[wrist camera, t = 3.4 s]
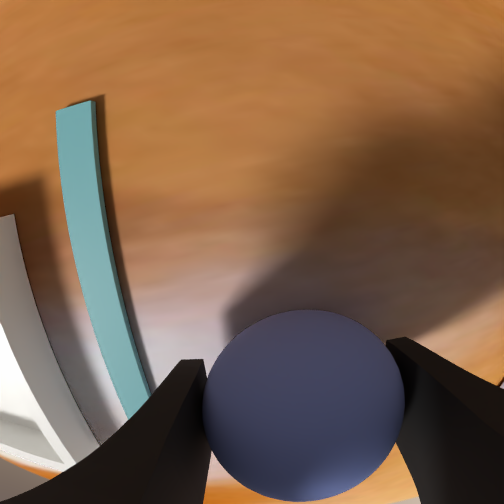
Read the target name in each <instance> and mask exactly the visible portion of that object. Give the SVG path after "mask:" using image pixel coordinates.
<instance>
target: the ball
mask: <svg viewBox="0 0 504 504" xmlns="http://www.w3.org/2000/svg"><path fill="white" fill-rule="evenodd" d="M404 409H405V396H404V386H403V382H402V378H401V375H400V371H399V368H398V366H397V364H396V362H395V360H394V358H393V356H392V355H391V353H390V351H389V350H388V349H387V348H386V346H385V345H384V344H383V343H382V341H381V340H380V339H379V338H378V337H377V336H376V335H375V334H373V333H372V332H371V331H370V330H369V329H367V328H366V327H365V326H363V325H361V324H360V323H358V322H356V321H354V320H352V319H350V318H347V317H345V316H342V315H340V314H336V313H333V312H329V311H321V310H293V311H287V312H282V313H278V314H275V315H272V316H269V317H267V318H265V319H262V320H260V321H258V322H256V323H255V324H253V325H251V326H250V327H248V328H246V329H245V330H244V331H242V332H241V333H240V334H238V335H237V336H236V337H235V338H234V339H233V340H232V341H231V342H230V343H229V344H228V345H227V346H226V347H225V348H224V350H223V351H222V352H221V354H220V355H219V356H218V358H217V360H216V361H215V363H214V365H213V367H212V369H211V371H210V373H209V375H208V378H207V381H206V385H205V388H204V393H203V400H202V419H203V426H204V430H205V434H206V437H207V440H208V443H209V446H210V448H211V449H212V451H213V453H214V455H215V457H216V458H217V460H218V461H219V463H220V464H221V465H222V466H223V468H224V469H225V470H226V471H227V472H228V473H229V474H230V475H231V476H232V477H233V478H234V479H236V480H237V481H238V482H240V483H241V484H242V485H244V486H245V487H247V488H249V489H251V490H253V491H255V492H257V493H259V494H261V495H264V496H267V497H270V498H274V499H279V500H283V501H292V502H305V501H314V500H320V499H325V498H329V497H332V496H335V495H338V494H340V493H343V492H345V491H347V490H349V489H351V488H353V487H355V486H356V485H358V484H359V483H361V482H362V481H364V480H365V479H366V478H367V477H369V476H370V475H371V474H372V473H373V472H374V471H375V470H376V469H377V468H378V467H379V466H380V465H381V464H382V462H383V461H384V460H385V459H386V457H387V456H388V455H389V453H390V451H391V450H392V448H393V446H394V444H395V442H396V440H397V438H398V435H399V432H400V429H401V426H402V423H403V417H404Z"/></svg>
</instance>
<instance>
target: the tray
mask: <svg viewBox="0 0 504 504" xmlns="http://www.w3.org/2000/svg"><path fill="white" fill-rule="evenodd" d="M99 446H100V445H99V444H98V442H97V440H96V439H95V437H94V435H93V433H92V432H91V430H90V428H89V426H88V425H87V423H86V421H85V419H84V417H83V415H82V414H81V412H80V410H79V408H78V406H77V404H76V402H75V400H74V398H73V396H72V394H71V392H70V390H69V388H68V385H67V383H66V381H65V379H64V377H63V375H62V372H61V370H60V368H59V365H58V363H57V361H56V358H55V356H54V353H53V351H52V348H51V346H50V343H49V341H48V338H47V335H46V333H45V330H44V327H43V324H42V322H41V319H40V316H39V313H38V310H37V307H36V304H35V300H34V297H33V294H32V290H31V287H30V284H29V280H28V276H27V273H26V269H25V265H24V261H23V257H22V252H21V248H20V243H19V239H18V234H17V229H16V223H15V218H14V214H11V215H7V216H3V217H0V450H2V451H4V452H7V453H9V454H12V455H14V456H17V457H19V458H22V459H25V460H27V461H30V462H33V463H36V464H39V465H42V466H45V467H48V468H52V469H55V470H58V471H62V472H64V471H65V470H67V469H69V468H70V467H72V466H73V465H75V464H76V463H78V462H80V461H81V460H82V459H84V458H85V457H87V456H88V455H89V454H91V453H92V452H93V451H94V450H96V449H97V448H98V447H99Z"/></svg>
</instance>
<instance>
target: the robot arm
mask: <svg viewBox="0 0 504 504" xmlns="http://www.w3.org/2000/svg"><path fill="white" fill-rule="evenodd" d="M386 348H387V349H388V350H389V351H390V353H391V355H392V356H393V358H394V360H395V362H396V364H397V366H398V368H399V371H400V375H401V378H402V382H403V386H404V396H405V409H404V417H403V423H402V426H401V429H400V432H399V435H398V438H397V440H396V444H397V446H398V448H399V450H400V452H401V454H402V456H403V458H404V461H405V463H406V465H407V467H408V469H409V471H410V473H411V476H412V478H413V480H414V483H415V486H416V488H417V491H418V495H419V498H420V502H421V504H504V382H503V384H502V385H501V386H500V387H498V386H496V385H494V384H492V383H489V382H487V381H485V380H483V379H481V378H479V377H477V376H475V375H473V374H471V373H470V372H468V371H466V370H464V369H462V368H460V367H459V366H457V365H455V364H453V363H451V362H450V361H448V360H446V359H444V358H443V357H441V356H439V355H438V354H436V353H434V352H432V351H431V350H429V349H427V348H426V347H424V346H422V345H420V344H418V343H417V342H415V341H413V340H411V339H409V338H407V337H402V338H396V339H391V340H387V341H386ZM206 381H207V376H206V371H205V366H204V361H203V359H190V360H181V361H180V362H179V363H178V364H177V365H176V366H175V367H174V369H173V370H172V371H171V372H170V373H169V375H168V376H167V377H166V378H165V380H164V381H163V382H162V383H161V384H160V386H159V387H158V388H157V389H156V390H155V392H154V393H153V394H152V395H151V396H150V397H149V398H148V399H147V401H146V402H145V403H144V404H143V405H142V406H141V407H140V408H139V409H138V411H137V412H136V413H135V414H134V415H133V416H132V417H131V418H130V419H129V420H128V421H127V422H126V423H125V424H124V425H123V426H122V427H121V428H120V429H119V430H118V431H117V432H116V433H114V434H113V435H112V436H111V437H110V438H109V439H108V440H107V441H105V442H104V443H103V444H102V445H101V446H99V447H98V448H97V449H96V450H94V451H93V452H92V453H91V454H89V455H88V456H87V457H85V458H84V459H82V460H81V461H80V462H78V463H76V464H75V465H73V466H72V467H70V468H69V469H67V470H65V471H64V472H62V473H61V474H59V475H58V476H56V477H54V478H53V479H51V480H49V481H47V482H45V483H43V484H41V485H39V486H38V487H35V488H33V489H31V490H29V491H27V492H24V493H22V494H20V495H18V496H15V497H12V498H10V499H7V500H4V501H1V502H0V504H203V500H204V494H205V488H206V482H207V476H208V470H209V464H210V457H211V451H212V449H211V448H210V446H209V443H208V440H207V437H206V434H205V430H204V426H203V419H202V400H203V393H204V388H205V385H206Z"/></svg>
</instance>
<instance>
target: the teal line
mask: <svg viewBox="0 0 504 504" xmlns="http://www.w3.org/2000/svg"><path fill="white" fill-rule="evenodd" d="M56 129H57V145H58V157H59V168H60V177H61V185H62V192H63V200H64V206H65V212H66V218H67V224H68V230H69V235H70V240H71V245H72V250H73V254H74V259H75V263H76V268H77V272H78V276H79V280H80V284H81V288H82V292H83V295H84V299H85V303H86V306H87V310H88V313H89V316H90V320H91V323H92V326H93V329H94V332H95V335H96V338H97V341H98V344H99V347H100V350H101V353H102V356H103V359H104V361H105V364H106V367H107V369H108V372H109V375H110V377H111V380H112V382H113V385H114V387H115V390H116V392H117V395H118V397H119V399H120V402H121V404H122V406H123V409H124V411H125V413H126V415H127V418H128V420H129V419H130V418H131V417H132V416H133V415H134V414H135V413H136V412H137V411H138V409H139V408H140V407H141V406H142V405H143V404H144V403H145V402H146V401H147V399H148V398H149V397H150V396H151V392H150V390H149V387H148V384H147V381H146V378H145V375H144V372H143V368H142V365H141V362H140V359H139V356H138V352H137V349H136V346H135V342H134V339H133V335H132V332H131V328H130V324H129V321H128V317H127V313H126V309H125V305H124V301H123V297H122V293H121V288H120V284H119V280H118V275H117V270H116V266H115V261H114V256H113V251H112V245H111V240H110V234H109V228H108V222H107V216H106V210H105V203H104V196H103V188H102V180H101V171H100V162H99V151H98V139H97V125H96V104H95V102H94V101H91V100H90V101H87V102H83V103H80V104H77V105H73V106H70V107H67V108H64V109H61V110H58V111H56Z"/></svg>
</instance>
